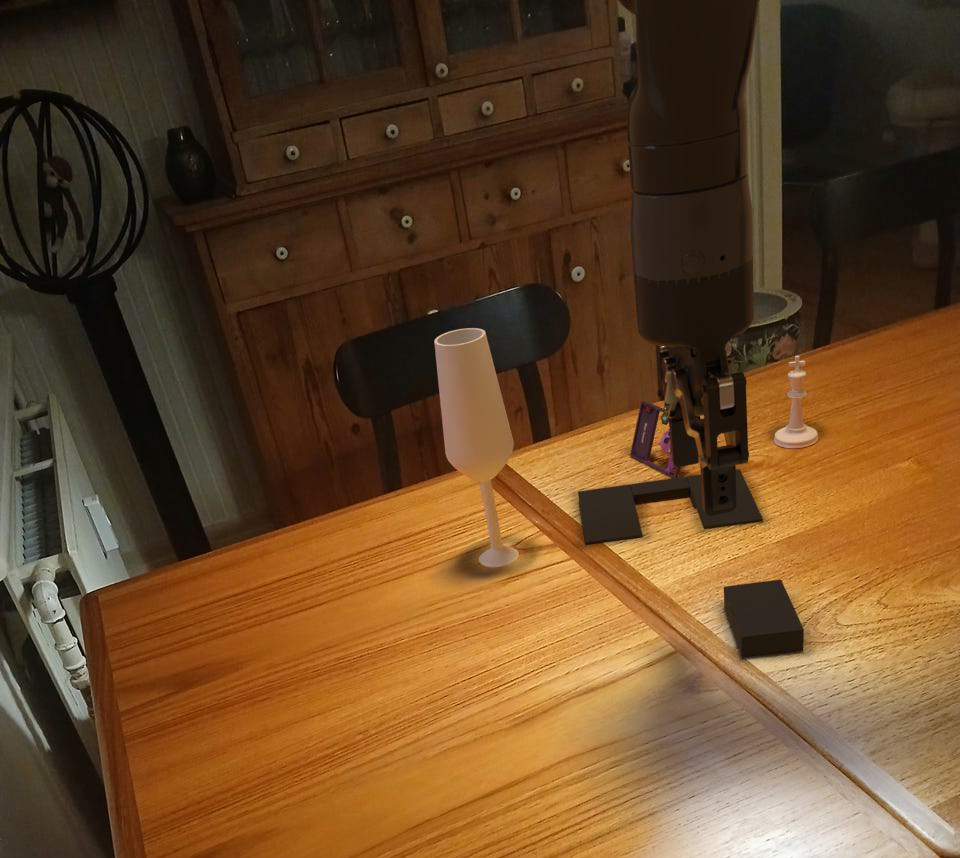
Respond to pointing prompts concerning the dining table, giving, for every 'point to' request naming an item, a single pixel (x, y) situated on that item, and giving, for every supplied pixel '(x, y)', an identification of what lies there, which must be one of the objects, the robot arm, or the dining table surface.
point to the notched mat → (615, 509)
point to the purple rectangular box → (651, 437)
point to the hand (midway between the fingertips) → (702, 486)
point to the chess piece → (796, 414)
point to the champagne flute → (475, 422)
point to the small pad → (763, 619)
